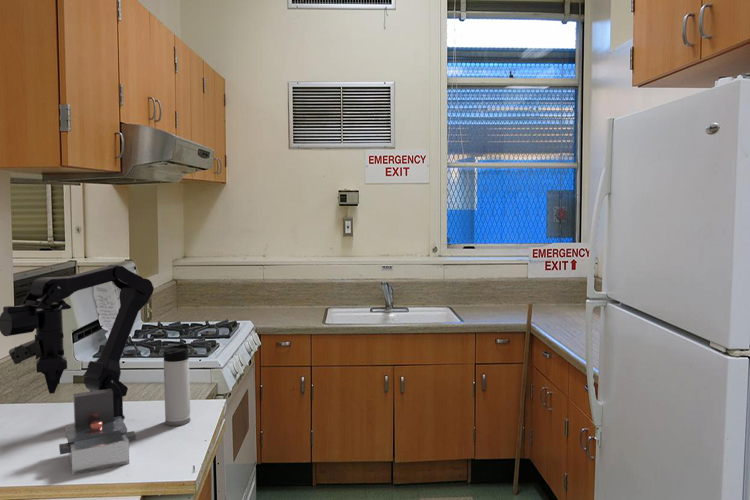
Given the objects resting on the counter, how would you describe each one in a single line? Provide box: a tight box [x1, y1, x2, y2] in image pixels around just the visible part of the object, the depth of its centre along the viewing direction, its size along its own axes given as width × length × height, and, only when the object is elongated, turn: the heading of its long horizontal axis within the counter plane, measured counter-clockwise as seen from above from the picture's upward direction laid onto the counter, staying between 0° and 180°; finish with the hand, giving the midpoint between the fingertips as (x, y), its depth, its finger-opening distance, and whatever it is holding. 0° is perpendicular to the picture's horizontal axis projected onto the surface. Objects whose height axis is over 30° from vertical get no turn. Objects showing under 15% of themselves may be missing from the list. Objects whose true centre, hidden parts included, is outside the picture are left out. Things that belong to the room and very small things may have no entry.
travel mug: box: [163, 343, 191, 427], centre depth 153 cm, size 6×7×20 cm
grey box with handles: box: [58, 430, 137, 476], centre depth 128 cm, size 10×15×5 cm, turn 121°
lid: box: [64, 389, 128, 443], centre depth 132 cm, size 10×12×8 cm
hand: (51, 392), depth 143 cm, fingers closed
